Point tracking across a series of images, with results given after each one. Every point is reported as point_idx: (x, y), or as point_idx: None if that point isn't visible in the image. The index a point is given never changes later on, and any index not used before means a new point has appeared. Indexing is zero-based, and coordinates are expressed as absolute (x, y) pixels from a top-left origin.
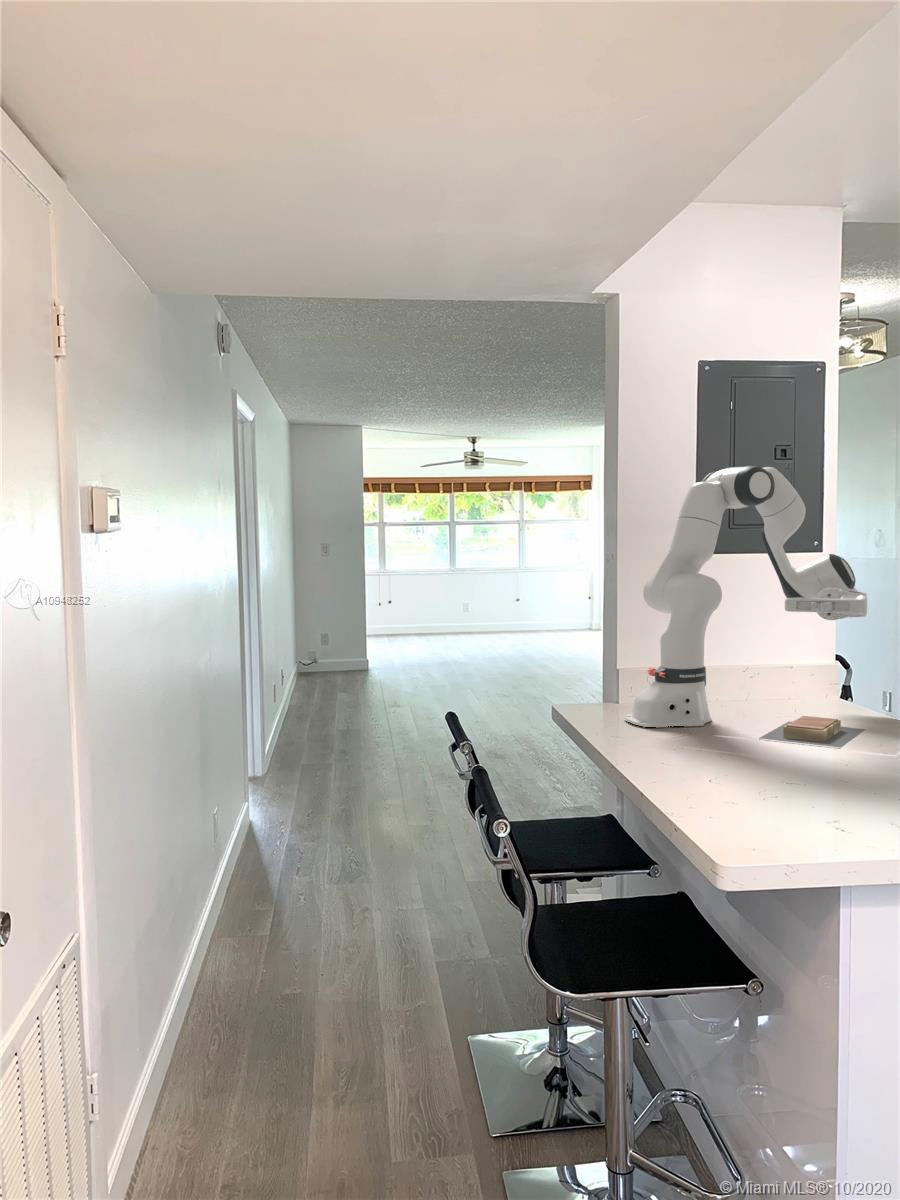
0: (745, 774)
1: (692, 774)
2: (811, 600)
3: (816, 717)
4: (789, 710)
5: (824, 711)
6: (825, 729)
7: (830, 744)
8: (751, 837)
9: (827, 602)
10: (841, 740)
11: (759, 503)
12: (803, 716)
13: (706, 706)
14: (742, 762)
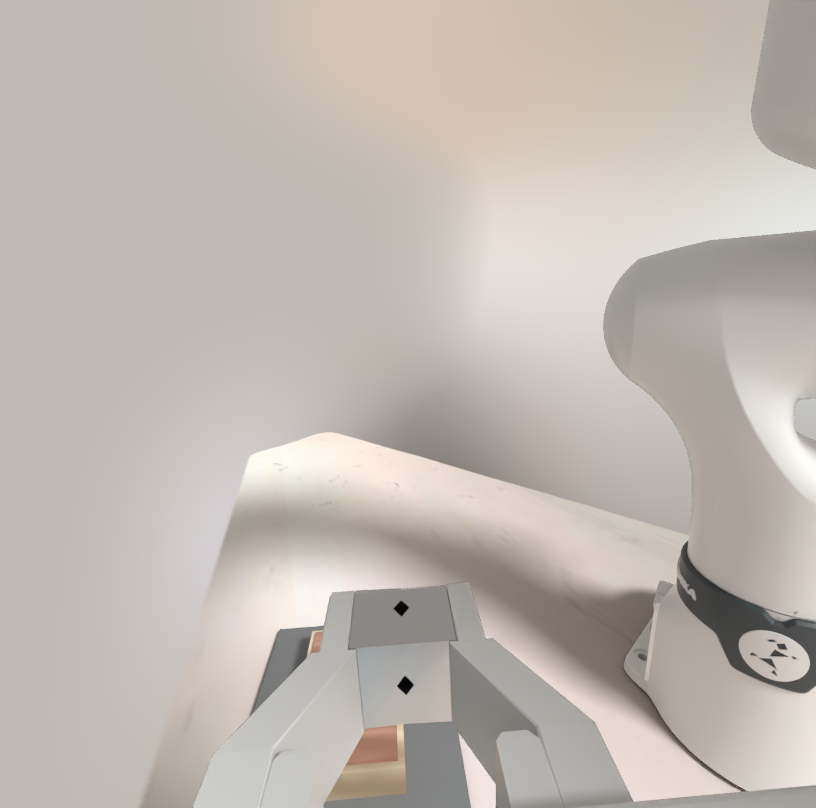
0: (376, 504)
1: (421, 488)
2: (672, 802)
3: (353, 755)
4: None
5: None
6: (310, 644)
7: (300, 638)
8: (327, 445)
9: (285, 709)
10: (279, 681)
11: None
12: (393, 748)
13: (682, 688)
14: (398, 527)
